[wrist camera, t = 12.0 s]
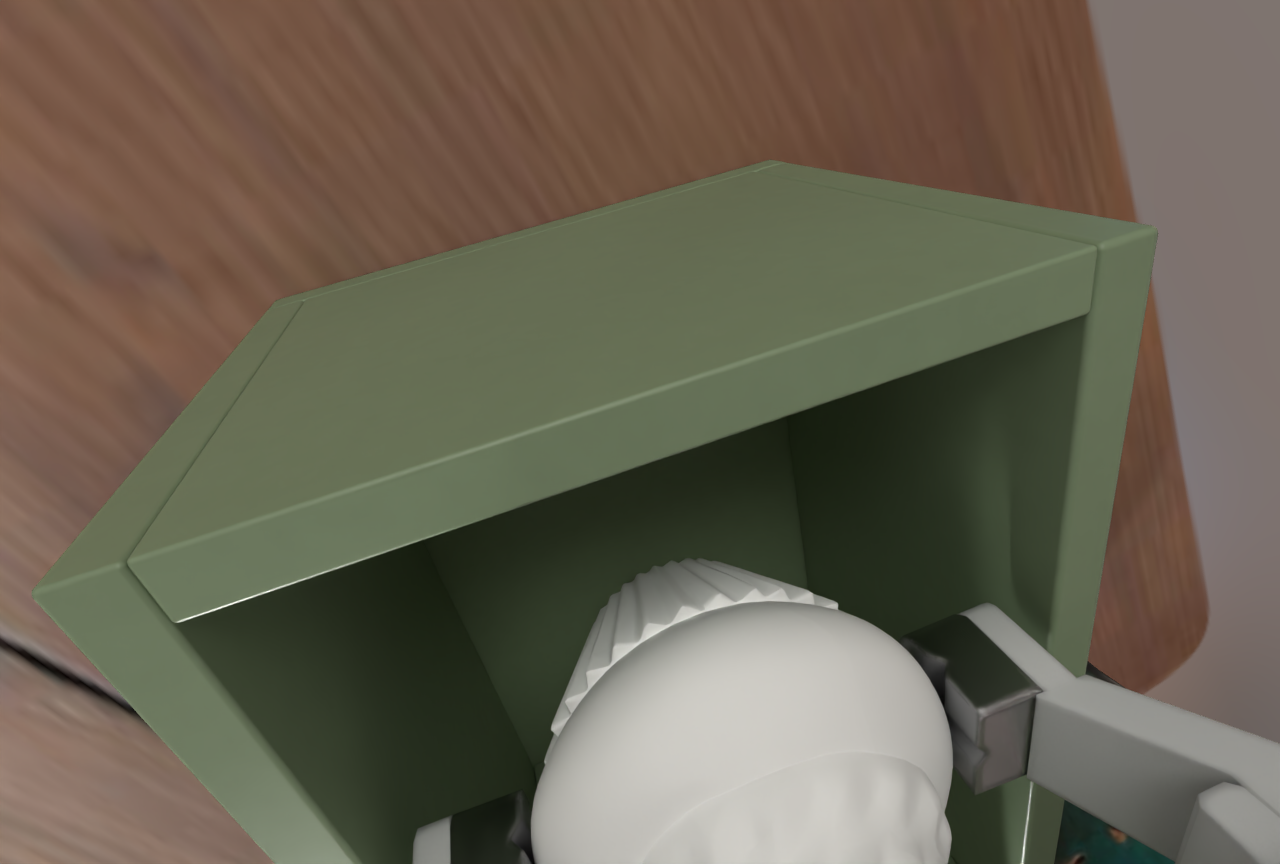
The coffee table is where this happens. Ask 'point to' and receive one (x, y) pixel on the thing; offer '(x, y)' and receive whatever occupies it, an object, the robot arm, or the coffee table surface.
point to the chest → (609, 482)
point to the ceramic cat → (1099, 831)
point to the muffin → (742, 733)
